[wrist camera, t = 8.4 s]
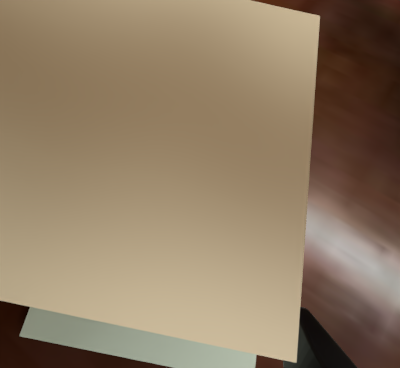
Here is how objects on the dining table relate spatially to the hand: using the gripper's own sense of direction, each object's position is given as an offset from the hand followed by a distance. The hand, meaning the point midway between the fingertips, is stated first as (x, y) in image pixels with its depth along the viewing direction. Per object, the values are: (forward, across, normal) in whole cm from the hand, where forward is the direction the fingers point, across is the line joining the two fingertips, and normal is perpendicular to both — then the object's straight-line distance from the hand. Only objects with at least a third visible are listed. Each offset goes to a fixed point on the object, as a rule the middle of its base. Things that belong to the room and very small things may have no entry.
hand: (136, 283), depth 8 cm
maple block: (+7, 0, +4) cm, 8 cm away
